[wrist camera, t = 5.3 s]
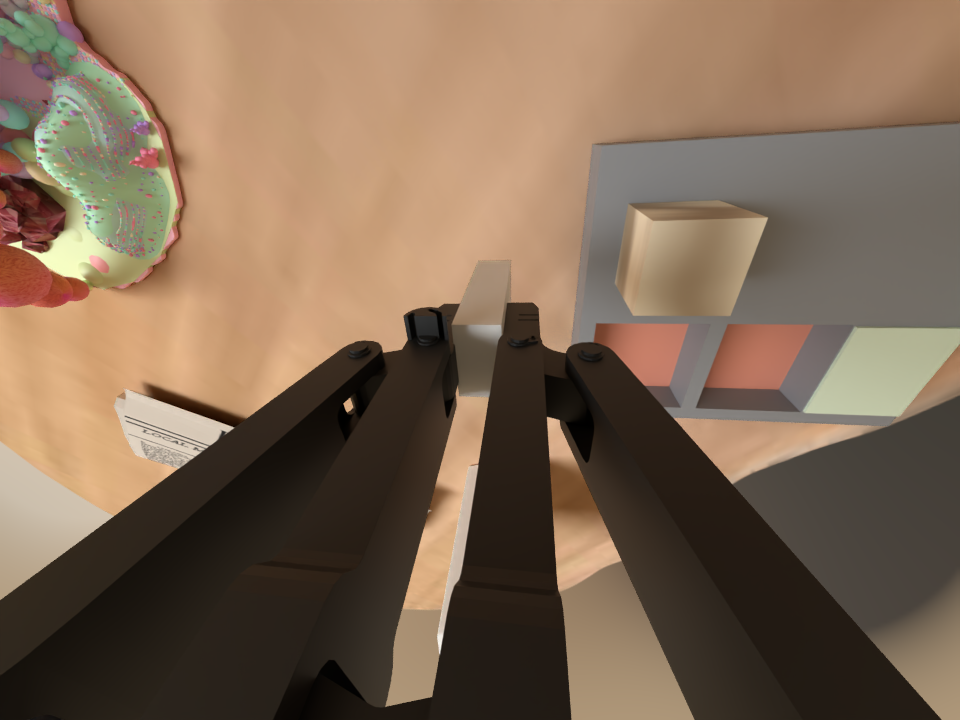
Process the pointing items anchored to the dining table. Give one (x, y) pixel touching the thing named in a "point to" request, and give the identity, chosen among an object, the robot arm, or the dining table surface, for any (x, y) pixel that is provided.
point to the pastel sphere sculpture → (75, 165)
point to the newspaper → (165, 429)
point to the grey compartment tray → (791, 272)
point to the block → (686, 257)
